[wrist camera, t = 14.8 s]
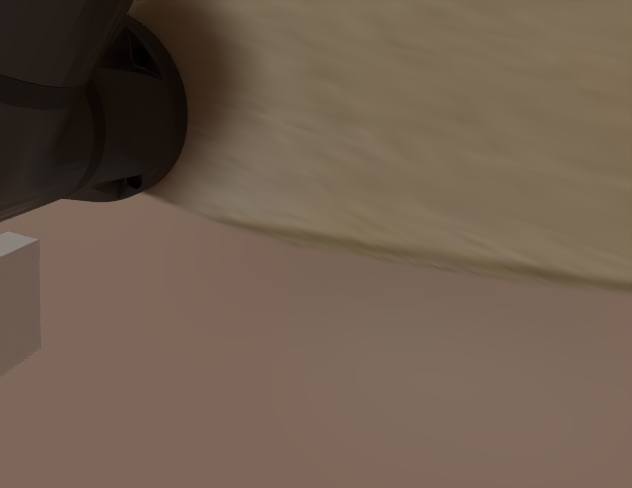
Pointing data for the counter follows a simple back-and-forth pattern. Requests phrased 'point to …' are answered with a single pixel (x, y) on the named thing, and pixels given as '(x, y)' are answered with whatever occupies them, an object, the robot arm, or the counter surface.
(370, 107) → the counter surface
